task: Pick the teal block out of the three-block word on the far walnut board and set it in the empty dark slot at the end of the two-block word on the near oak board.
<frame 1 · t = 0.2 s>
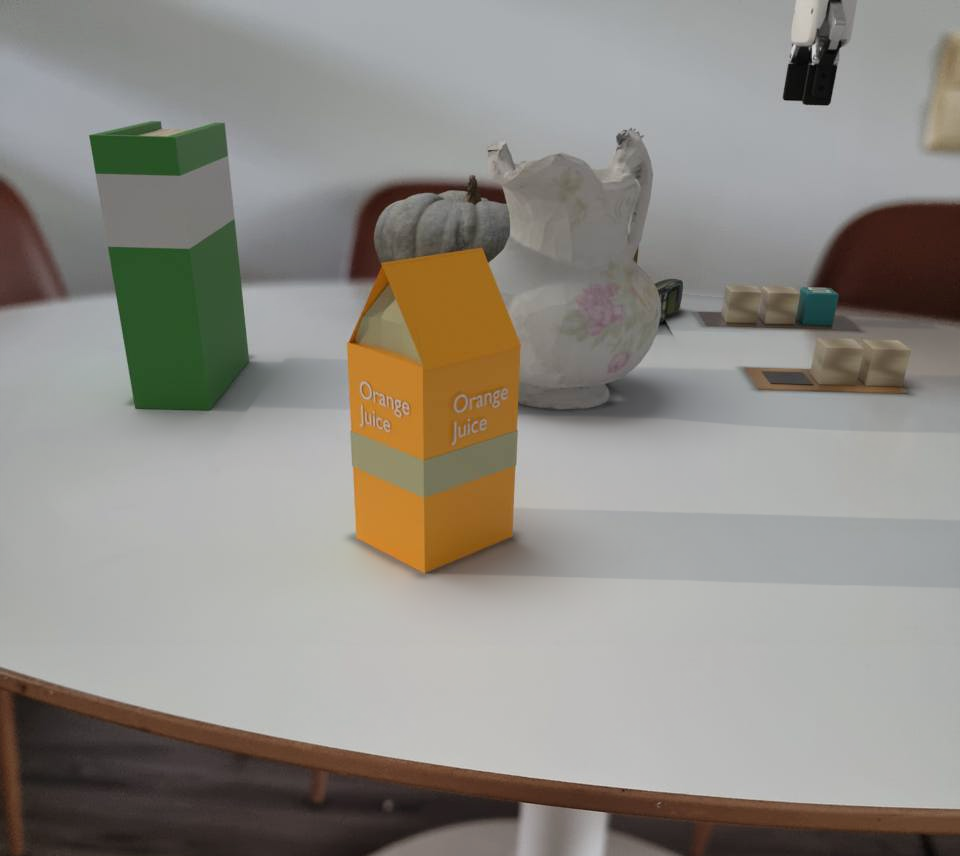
hand: (805, 102, 119), 26 cm above the table, tool pointing down, fingers open, 9 cm apart
gourd: (465, 307, 137), on the table
orange juice: (435, 545, 72), on the table
left board: (775, 325, 131), on the table
right board: (822, 384, 108), on the table
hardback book: (196, 384, 104), on the table
condiment: (616, 297, 144), on the table
ceramic pitcher: (562, 395, 103), on the table
mobile phone: (655, 323, 131), on the table
teal block: (813, 321, 130), point 1 cm above the table, touching left board
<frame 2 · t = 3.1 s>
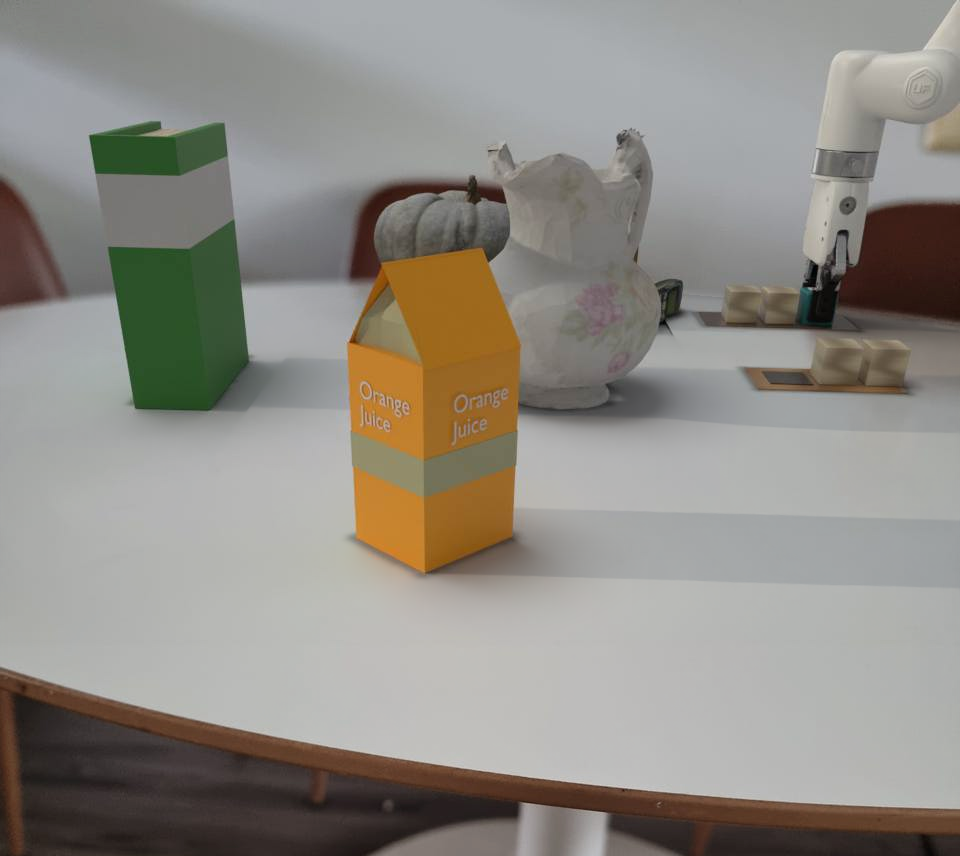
hand: (814, 316, 130), 1 cm above the table, tool pointing down, fingers closed on teal block, 4 cm apart
teal block: (813, 321, 130), point 1 cm above the table, touching gripper, left board
everything else where it was.
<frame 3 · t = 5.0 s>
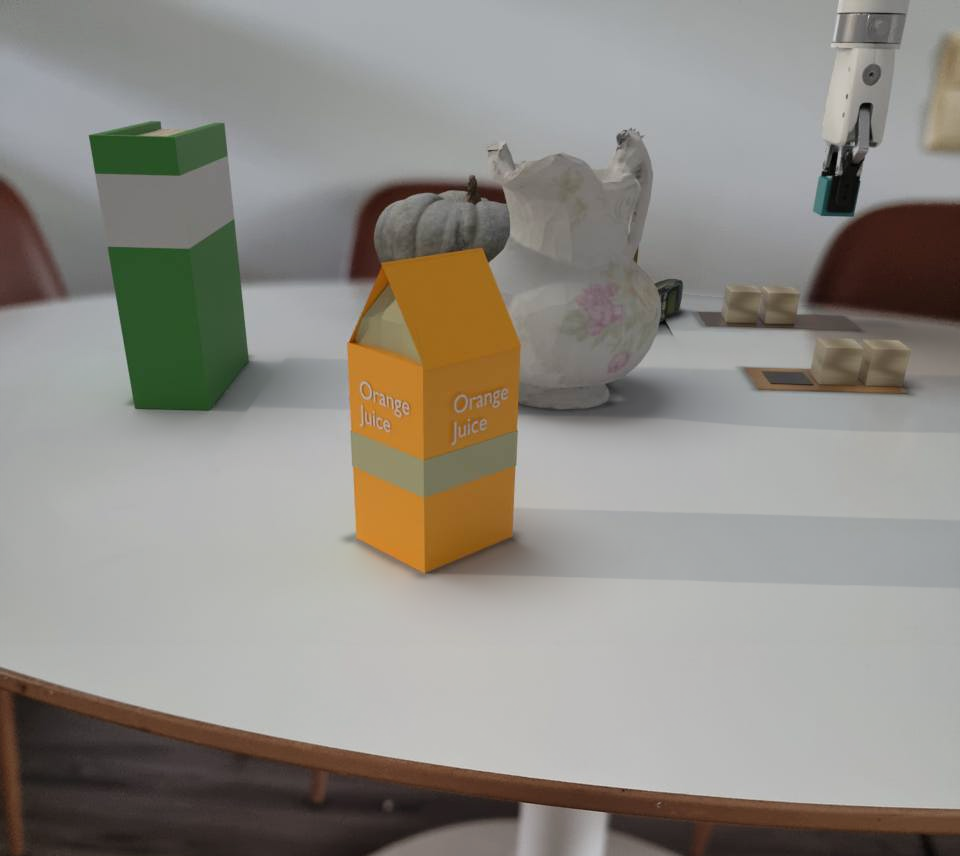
hand: (834, 207, 119), 15 cm above the table, tool pointing down, fingers closed on teal block, 4 cm apart
teal block: (832, 214, 120), point 14 cm above the table, touching gripper
everything else where it was.
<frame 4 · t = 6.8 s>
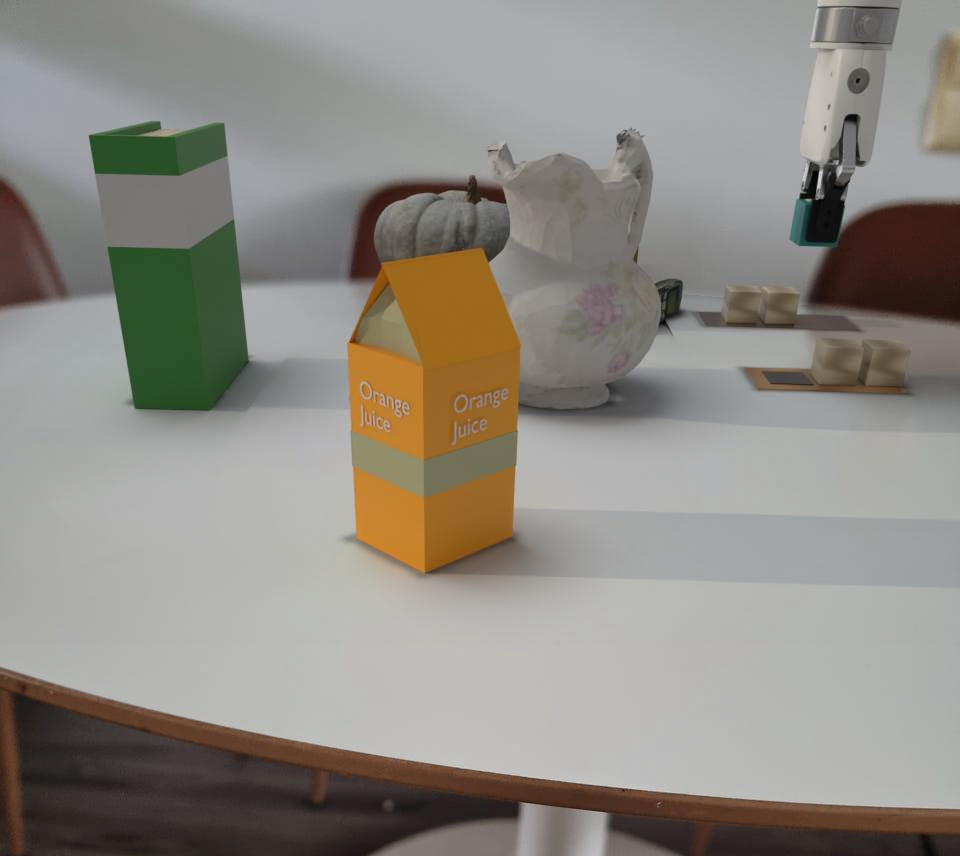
hand: (814, 236, 102), 15 cm above the table, tool pointing down, fingers closed on teal block, 4 cm apart
teal block: (812, 243, 102), point 14 cm above the table, touching gripper
everything else where it was.
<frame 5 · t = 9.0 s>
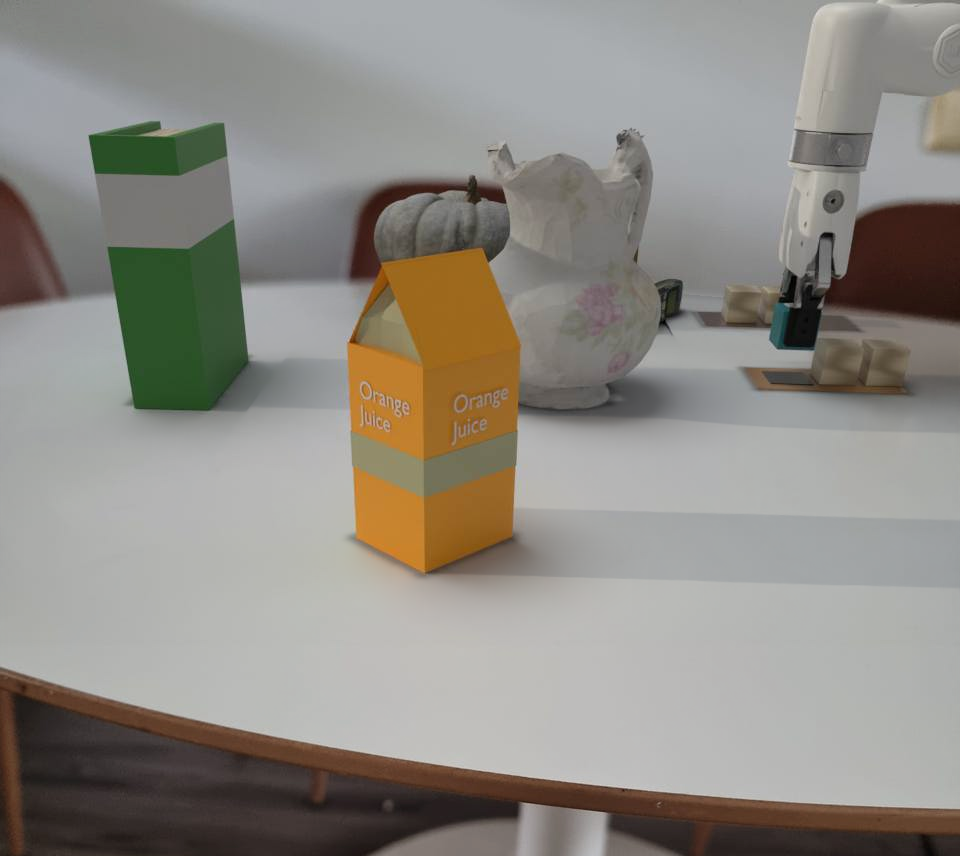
hand: (792, 338, 105), 5 cm above the table, tool pointing down, fingers closed on teal block, 4 cm apart
teal block: (791, 345, 106), point 4 cm above the table, touching gripper
everything else where it was.
when the fingers open (1 cm above the table, at t = 10.3 s): teal block stays where it is, resting on right board.
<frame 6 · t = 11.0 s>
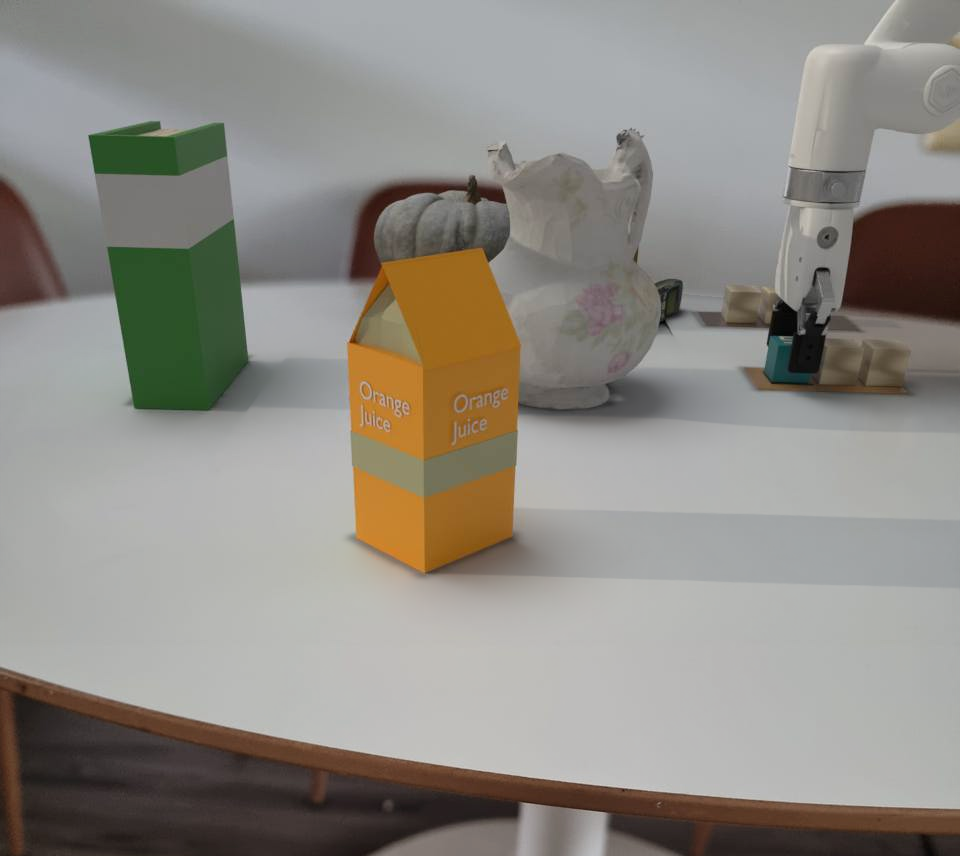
hand: (791, 359, 106), 3 cm above the table, tool pointing down, fingers open, 9 cm apart
teal block: (785, 377, 107), point 1 cm above the table, touching right board
everything else where it was.
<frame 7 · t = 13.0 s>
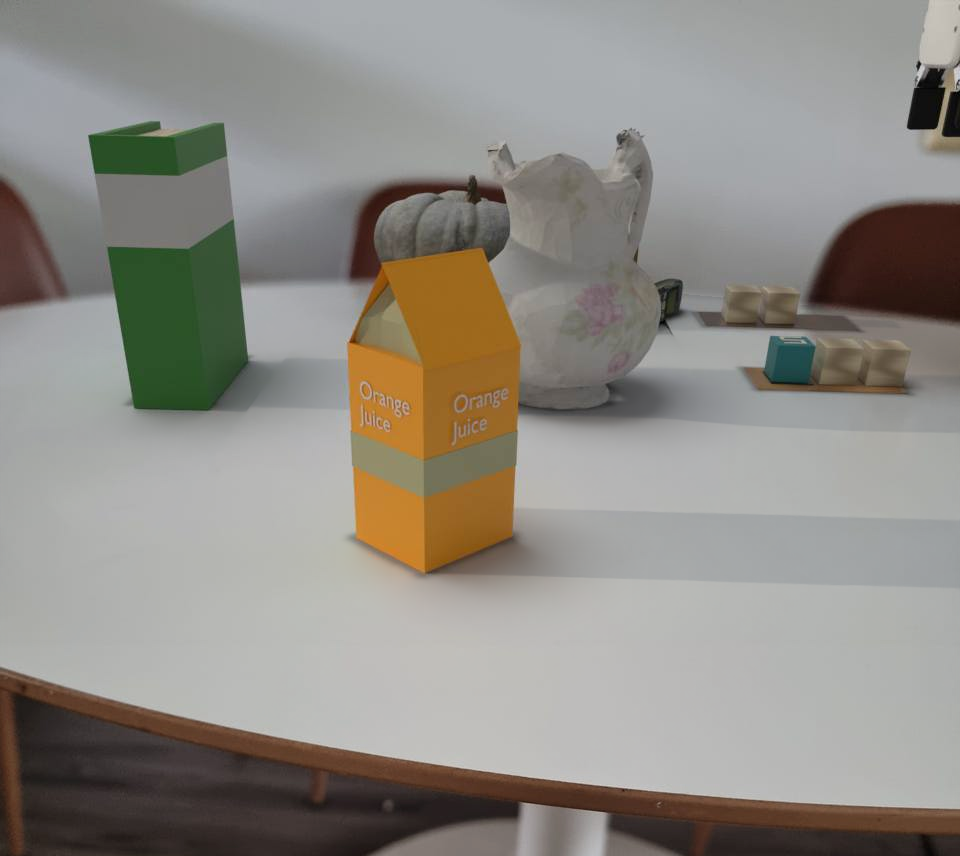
hand: (938, 132, 102), 24 cm above the table, tool pointing down, fingers open, 9 cm apart
nothing on the table moved.
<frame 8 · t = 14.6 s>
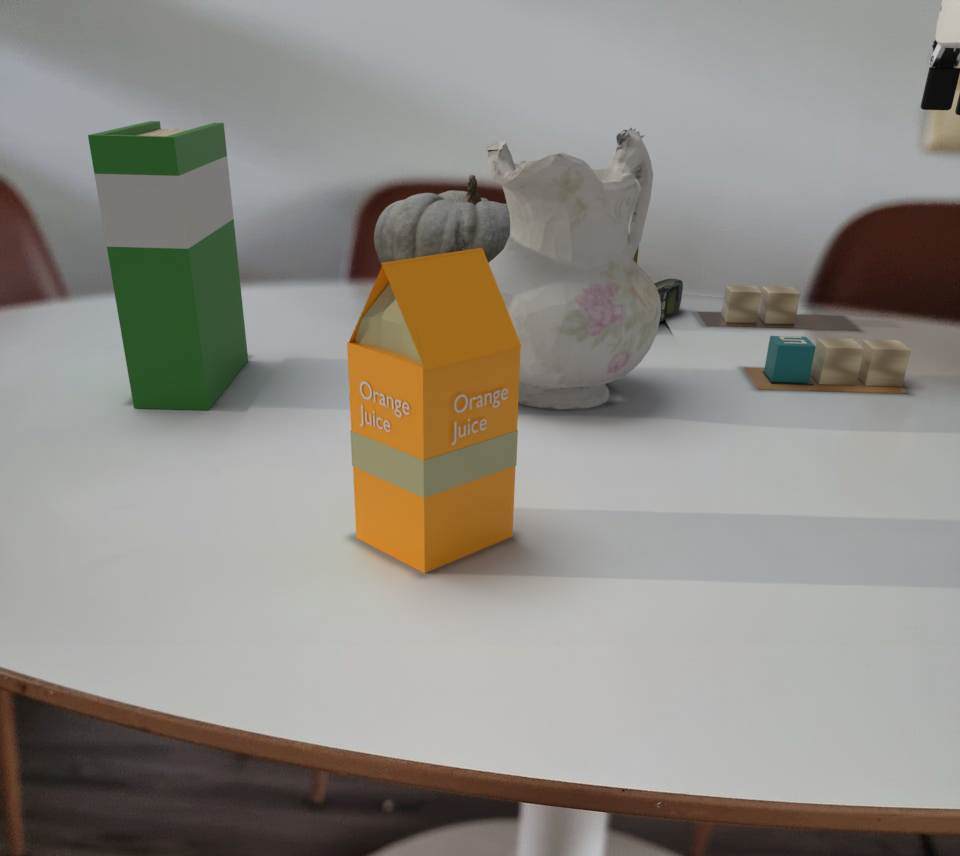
hand: (952, 112, 102), 26 cm above the table, tool pointing down, fingers open, 9 cm apart
nothing on the table moved.
at the end: teal block 0.2 cm from the target spot on the right board, point 0.7 cm above the right board's base; teal block tilted 0° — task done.
